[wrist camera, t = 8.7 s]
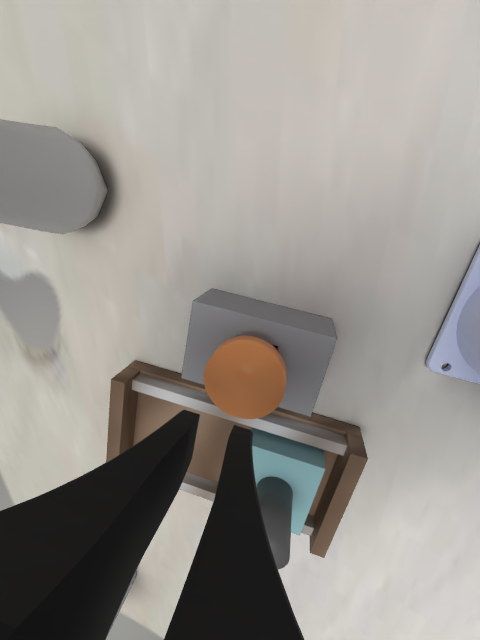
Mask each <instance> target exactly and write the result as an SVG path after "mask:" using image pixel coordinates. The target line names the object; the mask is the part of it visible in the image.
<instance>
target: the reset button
mask: <svg viewBox="0 0 480 640" xmlns="http://www.w3.org/2000/svg"><path fill="white" fill-rule="evenodd" d="M286 379H287V370H286V365H285V362H284V360H283V358H282V356H281V354H280V353H279V352H278V350H277V349H276V348H275V347H274V346H272V345H271V344H270V343H268V342H267V341H265V340H263V339H260V338H257V337H253V336H237V337H233V338H231V339H228V340H226V341H225V342H223V343H222V344H221V345H220V346H219V347H218V348H217V350H216V351H215V352H214V354H213V355H212V356H211V358H210V359H209V361H208V362H207V364H206V367H205V370H204V385H205V389H206V391H207V394H208V396H209V397H210V399H211V400H212V402H213V403H214V404H215V405H216V406H217V407H218V408H219V409H221V410H222V411H224V412H225V413H227V414H229V415H231V416H234V417H237V418H242V419H256V418H261V417H264V416H266V415H268V414H270V413H271V412H273V411H274V410H275V409H276V408H277V407H278V406H279V404H280V403H281V401H282V399H283V396H284V392H285V386H286Z"/></svg>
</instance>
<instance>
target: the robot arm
mask: <svg viewBox="0 0 480 640" xmlns="http://www.w3.org/2000/svg"><path fill="white" fill-rule="evenodd" d="M445 363H448V366H447V367H446V368H441V366H442V365H443V364H445ZM426 366H427V367H428V368H429V369H430V370H431V371H433V372H436V373H440V374H443V375H447V376H451V377H455V378H458V379H462V380H466V381H470V382H474V383H477V384H480V245H479V247H478V250H477V252H476V254H475V256H474V258H473V260H472V263H471V265H470V267H469V269H468V271H467V273H466V276H465V278H464V280H463V282H462V284H461V286H460V289H459V291H458V293H457V295H456V297H455V299H454V302H453V304H452V306H451V308H450V310H449V312H448V315H447V317H446V319H445V321H444V323H443V325H442V328H441V330H440V332H439V334H438V336H437V338H436V341H435V343H434V345H433V347H432V349H431V351H430V354H429V356H428V358H427V360H426ZM199 418H200V414H197V413H194V412H191V411H187V410H182V411H180V412H179V413H178V414H177V415H175V416H174V417H173V418H171V419H170V420H169V421H168V422H166V423H165V424H164V425H162V426H161V427H160V428H158V429H157V430H156V431H154V432H153V433H151V434H150V435H148V436H147V437H146V438H144V439H143V440H141V441H140V442H138V443H137V444H135V445H134V446H132V447H131V448H129V449H128V450H126V451H124V452H123V453H121V454H120V455H118V456H116V457H115V458H113V459H112V460H110V461H108V462H106V463H105V464H103V465H101V466H99V467H98V468H96V469H94V470H92V471H90V472H88V473H86V474H84V475H83V476H81V477H79V478H77V479H75V480H72V481H70V482H68V483H66V484H64V485H62V486H60V487H58V488H56V489H53V490H51V491H49V492H47V493H44V494H42V495H40V496H38V497H35V498H33V499H30V500H28V501H25V502H22V503H20V504H17V505H15V506H12V507H10V508H7V509H5V510H2V511H0V640H105V639H106V637H107V635H108V632H109V630H110V628H111V625H112V623H113V621H114V618H115V616H116V614H117V612H118V609H119V607H120V605H121V603H122V600H123V598H124V596H125V594H126V591H127V589H128V587H129V585H130V582H131V580H132V578H133V576H134V573H135V571H136V569H137V567H138V565H139V563H140V561H141V559H142V557H143V555H144V553H145V551H146V549H147V548H148V546H149V544H150V542H151V540H152V538H153V537H154V535H155V533H156V531H157V529H158V527H159V526H160V524H161V522H162V520H163V518H164V516H165V515H166V513H167V511H168V509H169V507H170V505H171V504H172V502H173V500H174V498H175V496H176V494H177V492H178V490H179V489H180V487H181V484H182V482H183V479H184V477H185V475H186V472H187V470H188V467H189V465H190V462H191V460H192V456H193V450H194V445H195V439H196V434H197V429H198V423H199ZM252 439H253V433H252V431H251V430H249V429H246V428H243V427H240V426H236V425H234V426H233V428H232V430H231V433H230V435H229V438H228V442H227V446H226V451H225V455H224V459H223V464H222V468H221V472H220V477H219V481H218V485H217V490H216V494H215V498H214V503H213V505H212V508H211V511H210V514H209V517H208V520H207V523H206V526H205V529H204V531H203V534H202V537H201V540H200V543H199V546H198V548H197V551H196V554H195V557H194V560H193V562H192V565H191V568H190V571H189V573H188V576H187V579H186V582H185V584H184V587H183V590H182V593H181V595H180V598H179V601H178V604H177V606H176V609H175V612H174V614H173V617H172V620H171V622H170V625H169V628H168V630H167V633H166V636H165V638H164V640H304V638H303V635H302V633H301V630H300V628H299V626H298V623H297V621H296V618H295V616H294V613H293V611H292V608H291V605H290V602H289V600H288V597H287V594H286V591H285V589H284V586H283V583H282V580H281V578H280V575H279V572H278V569H277V566H276V563H275V560H274V556H273V553H272V550H271V547H270V543H269V540H268V536H267V533H266V529H265V525H264V521H263V517H262V513H261V508H260V503H259V498H258V493H257V487H256V481H255V474H254V466H253V454H252Z"/></svg>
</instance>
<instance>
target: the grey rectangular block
mask: <svg viewBox="0 0 480 640" xmlns="http://www.w3.org/2000/svg"><path fill="white" fill-rule="evenodd" d="M237 336H253V337H257V338H260V339H263V340H265V341H267V342H268V343H270V344H271V345H275V346H278V348H277V350H278V352H279V353H280V354H281V356H282V358H283V360H284V362H285V365H286V370H287V379H286V386H285V392H284V396H283V399H282V401H281V403H280V404H279V406H278V407H280V408H283V409H287V410H290V411H293V412H297V413H300V414H303V415H307V416H310V417H311V414H312V411H313V408H314V405H315V402H316V399H317V396H318V393H319V391H320V388H321V385H322V382H323V379H324V376H325V373H326V370H327V367H328V364H329V361H330V358H331V355H332V352H333V349H334V346H335V343H336V340H337V336H336V332H335V329H334V325H333V321H332V319H330V318H327V317H323V316H319V315H315V314H311V313H307V312H303V311H299V310H295V309H291V308H287V307H283V306H279V305H275V304H271V303H267V302H263V301H259V300H255V299H251V298H247V297H243V296H239V295H235V294H231V293H227V292H223V291H219V290H215V289H210V290H209V291H207V292H206V293H204V294H203V295H201V296H200V297H198V298H197V299H195V300H194V301H193V303H192V310H191V317H190V323H189V330H188V337H187V343H186V350H185V356H184V363H183V370H182V376H181V378H183V379H186V380H190V381H193V382H196V383H200V384H203V385H204V370H205V367H206V364H207V362H208V361H209V359H210V358H211V356H212V355H213V354H214V352H215V351H216V350H217V348H218V347H219V346H220V345H221V344H222V343H223V342H225V341H226V340H228V339H231V338H233V337H237Z"/></svg>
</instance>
